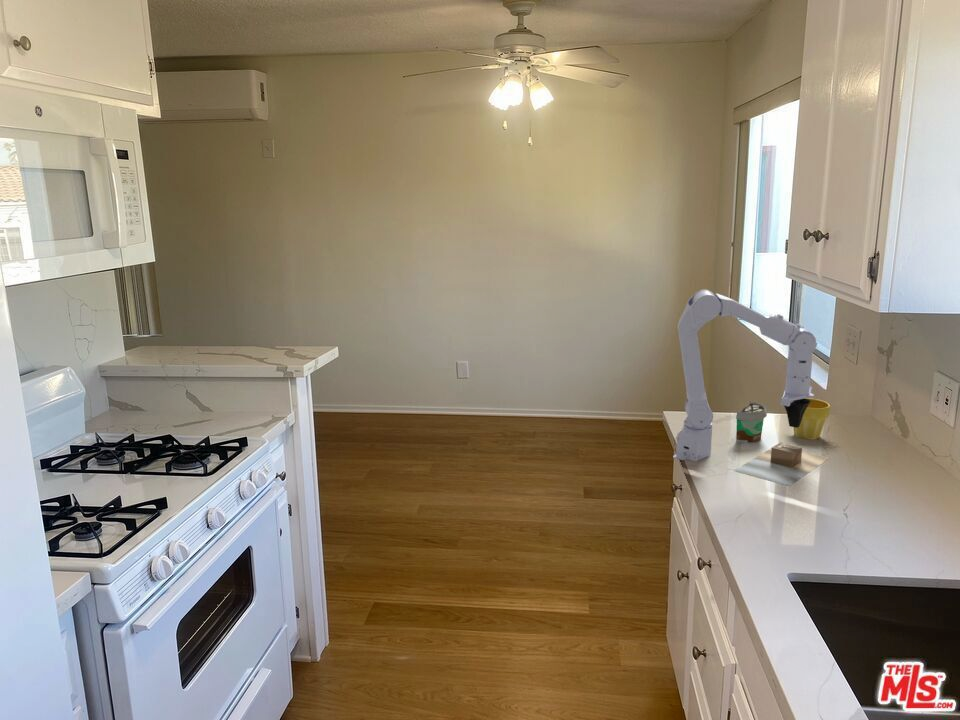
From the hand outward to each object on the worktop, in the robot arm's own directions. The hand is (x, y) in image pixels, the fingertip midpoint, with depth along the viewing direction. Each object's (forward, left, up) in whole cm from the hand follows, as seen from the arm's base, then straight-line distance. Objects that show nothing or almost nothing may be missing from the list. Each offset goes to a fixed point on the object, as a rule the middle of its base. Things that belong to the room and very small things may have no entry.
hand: (794, 426), depth 186 cm
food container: (+6, +13, -10) cm, 18 cm away
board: (-7, -1, -9) cm, 12 cm away
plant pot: (+21, +4, -10) cm, 23 cm away
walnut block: (-5, -1, -8) cm, 10 cm away
